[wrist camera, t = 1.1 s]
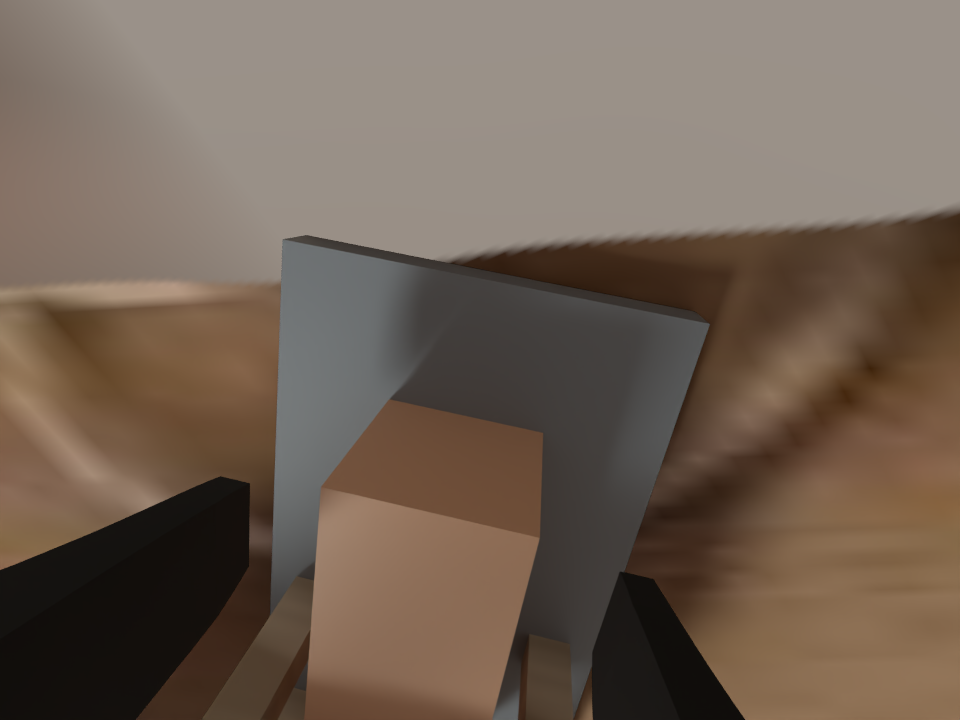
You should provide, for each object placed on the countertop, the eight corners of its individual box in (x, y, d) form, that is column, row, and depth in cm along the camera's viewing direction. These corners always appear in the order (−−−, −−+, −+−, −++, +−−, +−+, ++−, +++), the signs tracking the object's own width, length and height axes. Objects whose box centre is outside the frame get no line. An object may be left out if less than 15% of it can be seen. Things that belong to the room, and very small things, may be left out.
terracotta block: (471, 728, 16) (446, 891, 12) (353, 697, 16) (295, 847, 13) (543, 433, 12) (540, 537, 9) (389, 399, 13) (321, 486, 9)
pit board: (523, 828, 19) (521, 868, 18) (279, 761, 20) (263, 795, 19) (694, 311, 12) (709, 323, 11) (306, 235, 13) (282, 239, 12)
